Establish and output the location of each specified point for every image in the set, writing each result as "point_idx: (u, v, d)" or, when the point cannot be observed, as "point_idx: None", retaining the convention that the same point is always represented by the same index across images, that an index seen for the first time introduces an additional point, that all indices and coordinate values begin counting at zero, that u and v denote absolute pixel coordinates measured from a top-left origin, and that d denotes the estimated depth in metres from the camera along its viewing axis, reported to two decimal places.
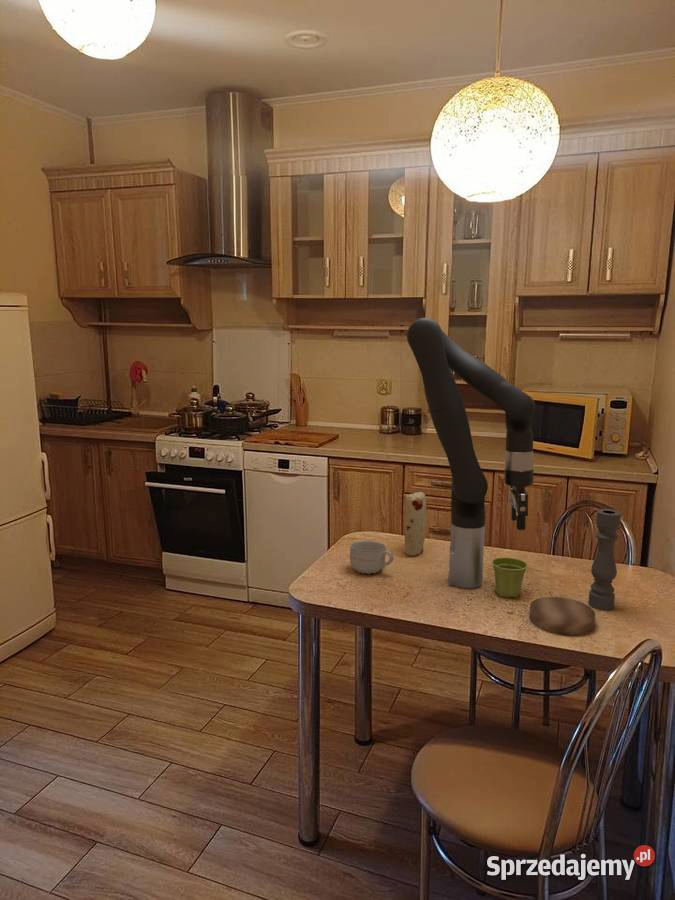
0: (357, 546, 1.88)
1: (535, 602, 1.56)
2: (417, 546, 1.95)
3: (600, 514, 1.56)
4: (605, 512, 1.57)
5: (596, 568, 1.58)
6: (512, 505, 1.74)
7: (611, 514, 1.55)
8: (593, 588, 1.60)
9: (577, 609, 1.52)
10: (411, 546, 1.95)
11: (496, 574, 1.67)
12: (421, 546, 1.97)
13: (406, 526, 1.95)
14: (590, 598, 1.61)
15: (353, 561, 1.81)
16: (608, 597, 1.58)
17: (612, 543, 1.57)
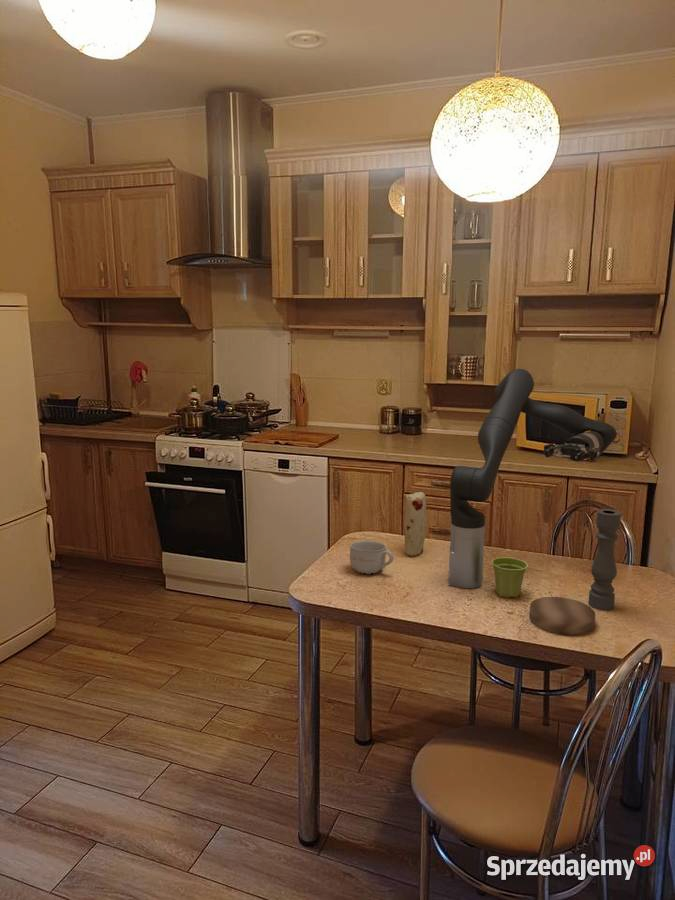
0: (357, 546, 1.88)
1: (535, 602, 1.56)
2: (417, 546, 1.95)
3: (600, 514, 1.56)
4: (605, 512, 1.57)
5: (596, 568, 1.58)
6: (553, 448, 1.77)
7: (611, 514, 1.55)
8: (593, 588, 1.60)
9: (577, 609, 1.52)
10: (411, 546, 1.95)
11: (496, 574, 1.67)
12: (421, 546, 1.97)
13: (406, 526, 1.95)
14: (590, 598, 1.61)
15: (353, 561, 1.81)
16: (608, 597, 1.58)
17: (612, 543, 1.57)
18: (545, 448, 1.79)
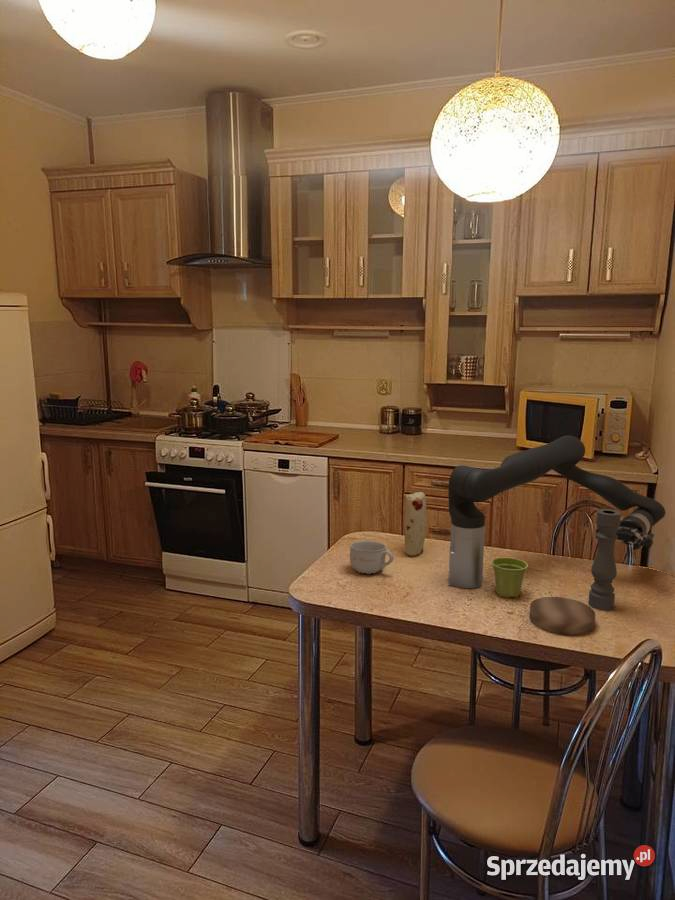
0: (357, 546, 1.88)
1: (535, 602, 1.56)
2: (417, 546, 1.95)
3: (600, 514, 1.56)
4: (605, 512, 1.57)
5: (596, 568, 1.58)
6: None
7: (611, 514, 1.55)
8: (593, 588, 1.60)
9: (577, 609, 1.52)
10: (411, 546, 1.95)
11: (496, 574, 1.67)
12: (421, 546, 1.97)
13: (406, 526, 1.95)
14: (590, 598, 1.61)
15: (353, 561, 1.81)
16: (608, 597, 1.58)
17: (612, 543, 1.57)
18: (597, 532, 1.75)
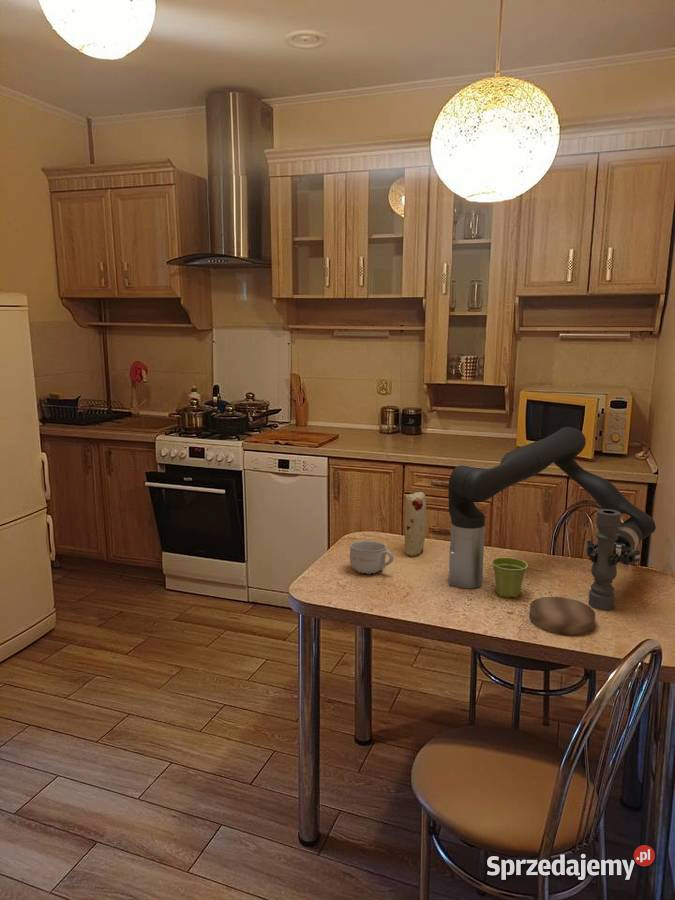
0: (357, 546, 1.88)
1: (535, 602, 1.56)
2: (417, 546, 1.95)
3: (600, 514, 1.56)
4: (605, 512, 1.57)
5: (596, 568, 1.58)
6: None
7: (611, 514, 1.55)
8: (593, 588, 1.60)
9: (577, 609, 1.52)
10: (411, 546, 1.95)
11: (496, 574, 1.67)
12: (421, 546, 1.97)
13: (406, 526, 1.95)
14: (590, 598, 1.61)
15: (353, 561, 1.81)
16: (608, 597, 1.58)
17: (612, 543, 1.57)
18: (590, 550, 1.63)
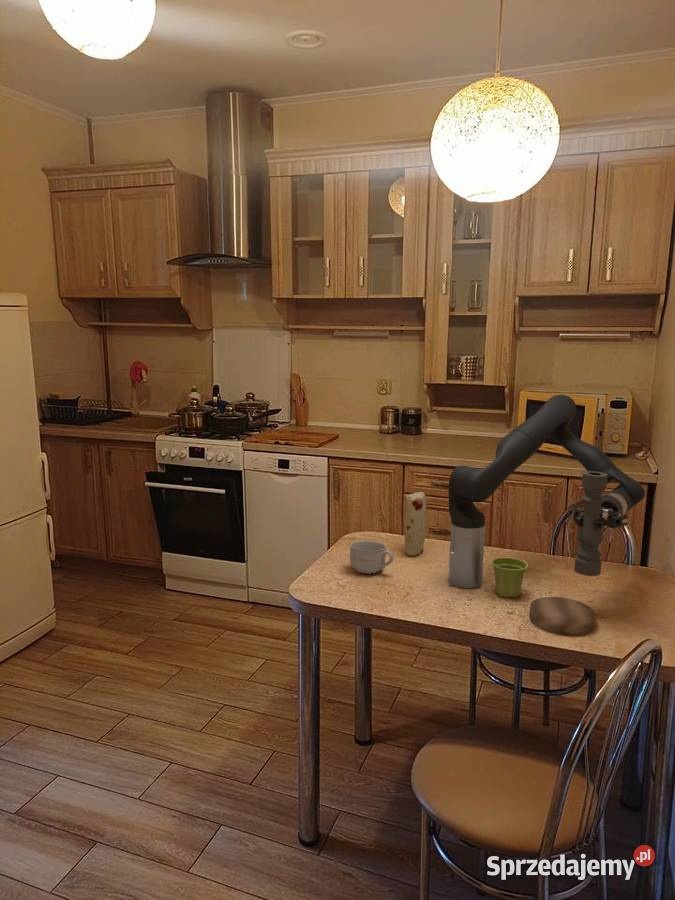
0: (357, 546, 1.88)
1: (535, 602, 1.56)
2: (417, 546, 1.95)
3: (586, 476, 1.50)
4: (591, 474, 1.51)
5: (582, 532, 1.53)
6: None
7: (597, 475, 1.49)
8: (579, 553, 1.54)
9: (577, 609, 1.52)
10: (411, 546, 1.95)
11: (496, 574, 1.67)
12: (421, 546, 1.97)
13: (406, 526, 1.95)
14: (576, 564, 1.55)
15: (353, 561, 1.81)
16: (594, 562, 1.52)
17: (598, 506, 1.51)
18: (576, 514, 1.57)
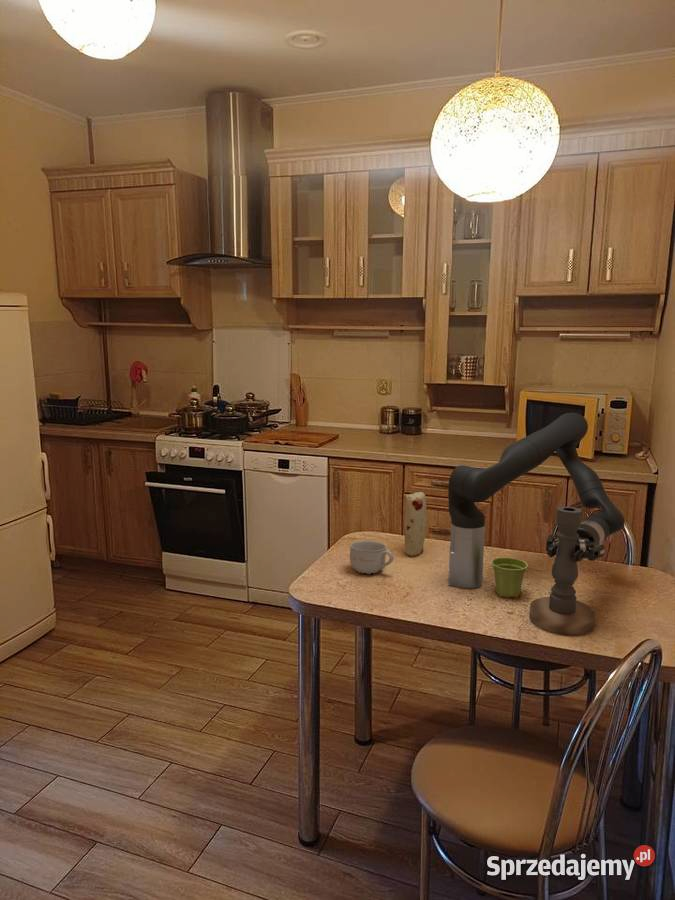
0: (357, 546, 1.88)
1: (535, 602, 1.56)
2: (417, 546, 1.95)
3: (560, 511, 1.47)
4: (565, 509, 1.48)
5: (556, 569, 1.49)
6: None
7: (571, 511, 1.46)
8: (553, 590, 1.51)
9: (577, 609, 1.52)
10: (411, 546, 1.95)
11: (496, 574, 1.67)
12: (421, 546, 1.97)
13: (406, 526, 1.95)
14: (550, 601, 1.51)
15: (353, 561, 1.81)
16: (569, 600, 1.49)
17: (573, 542, 1.48)
18: (548, 544, 1.54)
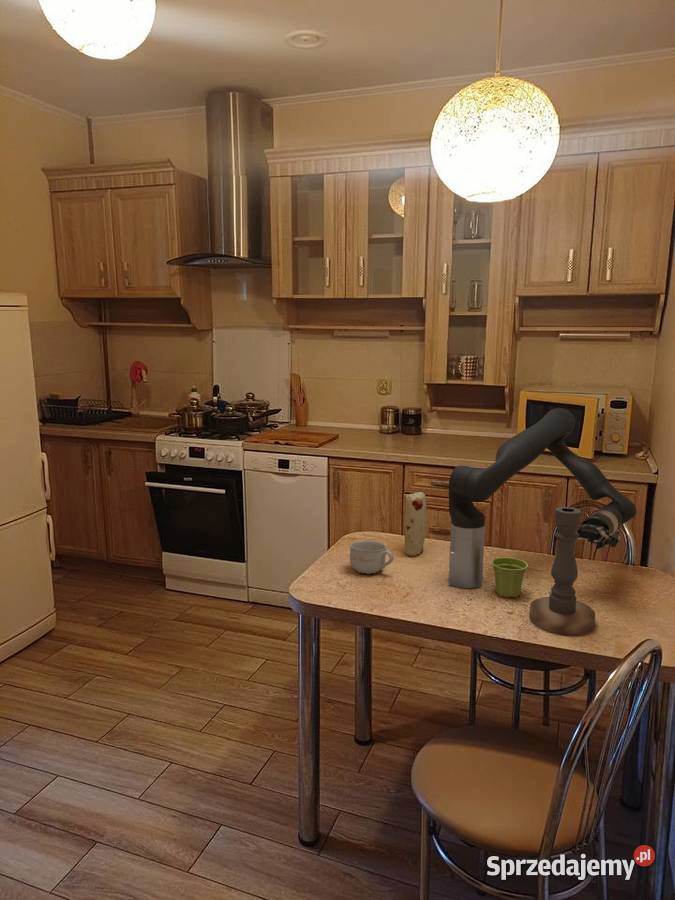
0: (357, 546, 1.88)
1: (535, 602, 1.56)
2: (417, 546, 1.95)
3: (558, 512, 1.47)
4: (564, 510, 1.47)
5: (555, 570, 1.49)
6: None
7: (570, 512, 1.46)
8: (553, 591, 1.51)
9: (577, 609, 1.52)
10: (411, 546, 1.95)
11: (496, 574, 1.67)
12: (421, 546, 1.97)
13: (406, 526, 1.95)
14: (550, 601, 1.51)
15: (353, 561, 1.81)
16: (568, 600, 1.49)
17: (572, 543, 1.47)
18: None
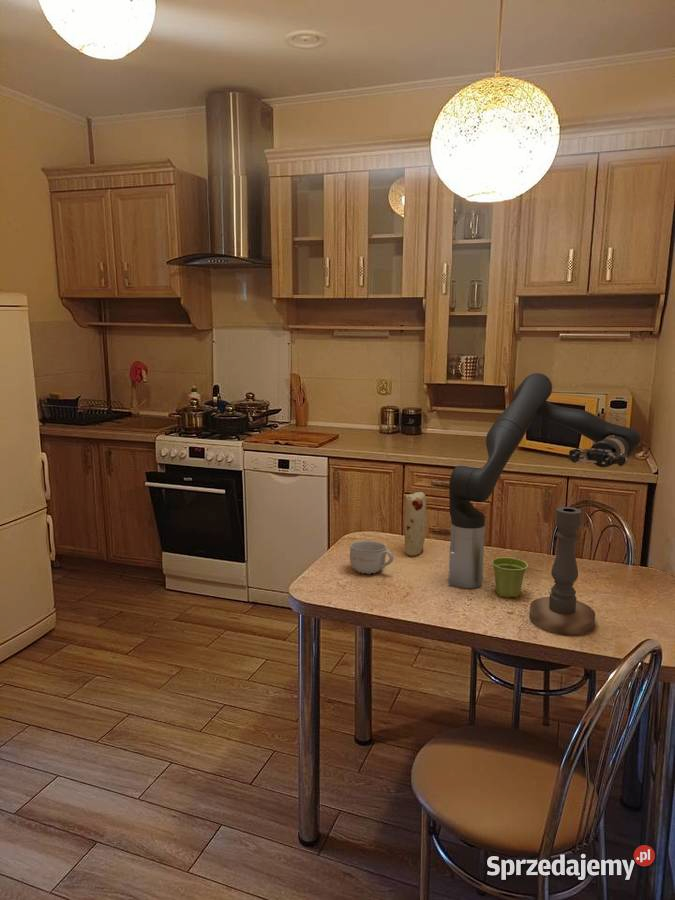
0: (357, 546, 1.88)
1: (535, 602, 1.56)
2: (417, 546, 1.95)
3: (559, 512, 1.47)
4: (565, 510, 1.47)
5: (556, 570, 1.49)
6: (580, 453, 1.71)
7: (571, 512, 1.46)
8: (553, 591, 1.51)
9: (577, 609, 1.52)
10: (411, 546, 1.95)
11: (496, 574, 1.67)
12: (421, 546, 1.97)
13: (406, 526, 1.95)
14: (550, 601, 1.52)
15: (353, 561, 1.81)
16: (568, 600, 1.49)
17: (572, 543, 1.47)
18: (570, 453, 1.73)
